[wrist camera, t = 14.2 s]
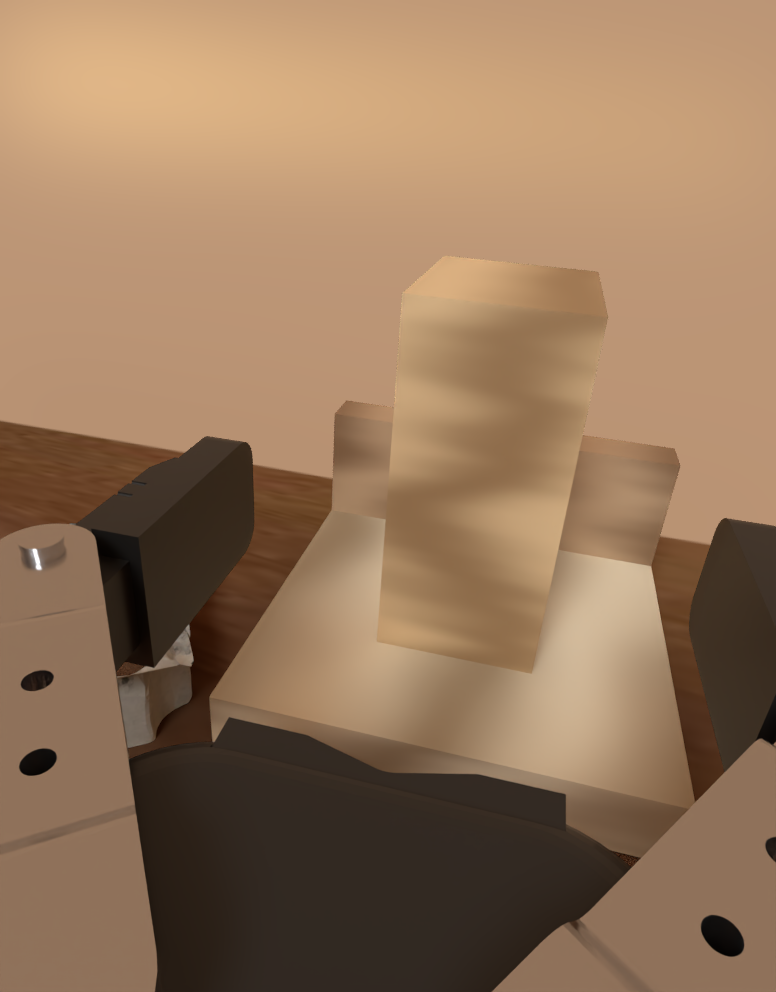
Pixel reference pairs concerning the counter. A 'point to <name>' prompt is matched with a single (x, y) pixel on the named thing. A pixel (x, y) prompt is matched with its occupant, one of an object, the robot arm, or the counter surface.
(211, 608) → the counter surface
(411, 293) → the oak plank block
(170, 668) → the egg carton
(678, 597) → the counter surface
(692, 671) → the counter surface
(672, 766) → the birch board
